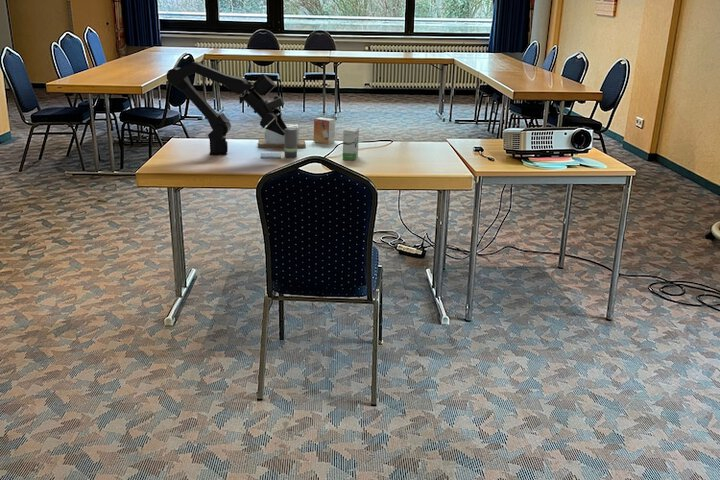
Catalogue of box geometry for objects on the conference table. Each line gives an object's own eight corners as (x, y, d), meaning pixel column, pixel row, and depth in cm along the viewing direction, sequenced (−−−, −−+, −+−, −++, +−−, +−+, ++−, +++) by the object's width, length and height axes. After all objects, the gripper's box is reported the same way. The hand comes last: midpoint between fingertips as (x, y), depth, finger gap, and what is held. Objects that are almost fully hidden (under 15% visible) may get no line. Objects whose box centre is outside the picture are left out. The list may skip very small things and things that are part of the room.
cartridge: (284, 157, 276) (284, 130, 272) (284, 155, 281) (284, 128, 277) (297, 157, 277) (297, 130, 273) (296, 155, 282) (296, 128, 278)
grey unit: (258, 147, 293) (258, 127, 290) (258, 142, 302) (258, 123, 300) (305, 147, 296) (305, 128, 293) (304, 143, 305) (304, 124, 302)
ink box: (354, 160, 276) (355, 131, 272) (342, 159, 277) (342, 130, 273) (358, 156, 284) (359, 127, 280) (346, 155, 285) (347, 126, 281)
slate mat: (260, 158, 274) (260, 156, 274) (260, 154, 280) (260, 153, 280) (280, 158, 275) (280, 156, 275) (280, 154, 282) (280, 153, 281)
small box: (313, 142, 308) (313, 118, 305) (319, 140, 313) (320, 116, 310) (328, 144, 305) (329, 120, 302) (335, 142, 310) (335, 118, 306)
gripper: (267, 92, 262) (297, 122, 265) (275, 86, 279) (302, 115, 282) (247, 113, 264) (276, 142, 268) (256, 105, 282) (283, 133, 285)
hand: (285, 132), depth 276 cm, fingers open, 9 cm apart
